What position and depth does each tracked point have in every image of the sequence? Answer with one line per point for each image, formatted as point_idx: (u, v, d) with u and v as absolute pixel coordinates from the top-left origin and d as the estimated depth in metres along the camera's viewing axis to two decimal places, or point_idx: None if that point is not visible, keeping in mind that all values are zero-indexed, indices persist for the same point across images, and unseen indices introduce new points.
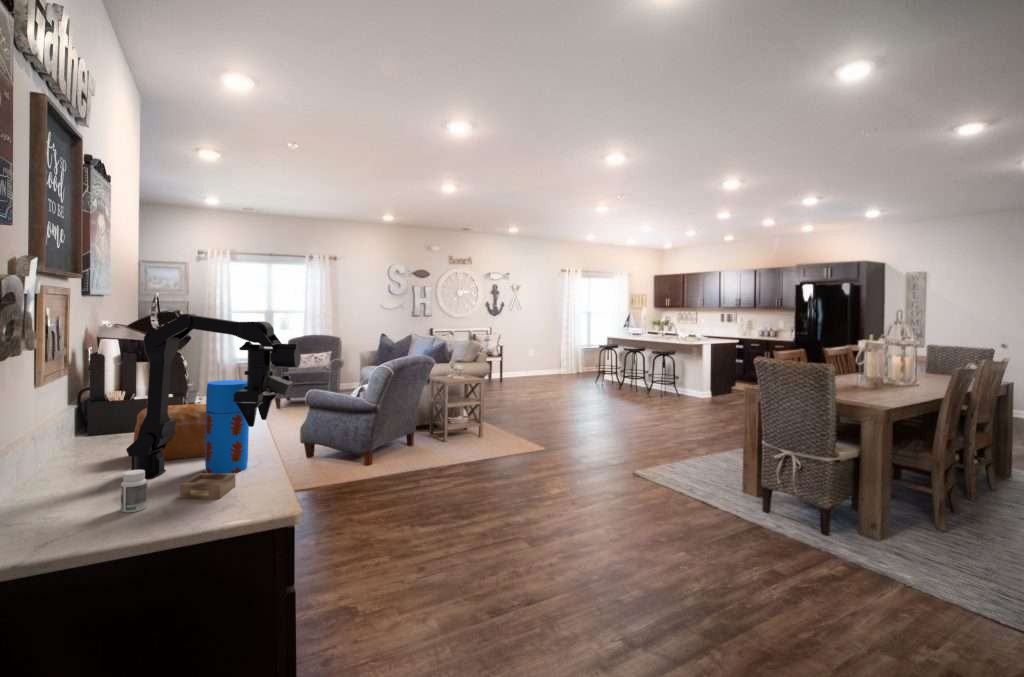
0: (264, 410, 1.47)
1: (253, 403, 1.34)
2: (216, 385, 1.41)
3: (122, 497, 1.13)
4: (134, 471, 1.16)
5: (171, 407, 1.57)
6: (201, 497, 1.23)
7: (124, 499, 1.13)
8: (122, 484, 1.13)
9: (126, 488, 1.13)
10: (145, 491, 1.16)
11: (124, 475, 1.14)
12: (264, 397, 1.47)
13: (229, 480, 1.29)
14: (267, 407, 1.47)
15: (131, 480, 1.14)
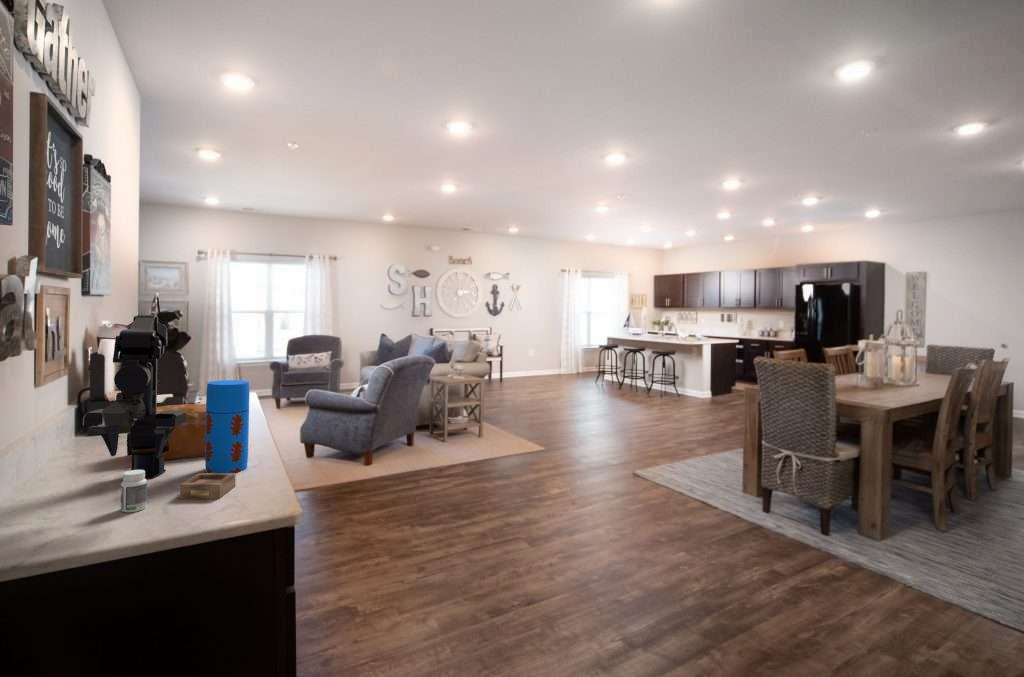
0: None
1: None
2: (216, 385, 1.41)
3: (122, 497, 1.13)
4: (134, 471, 1.16)
5: (169, 407, 1.57)
6: (201, 497, 1.23)
7: (124, 499, 1.13)
8: (122, 484, 1.13)
9: (126, 488, 1.13)
10: (145, 491, 1.16)
11: (124, 475, 1.14)
12: None
13: (229, 480, 1.29)
14: None
15: (131, 480, 1.14)
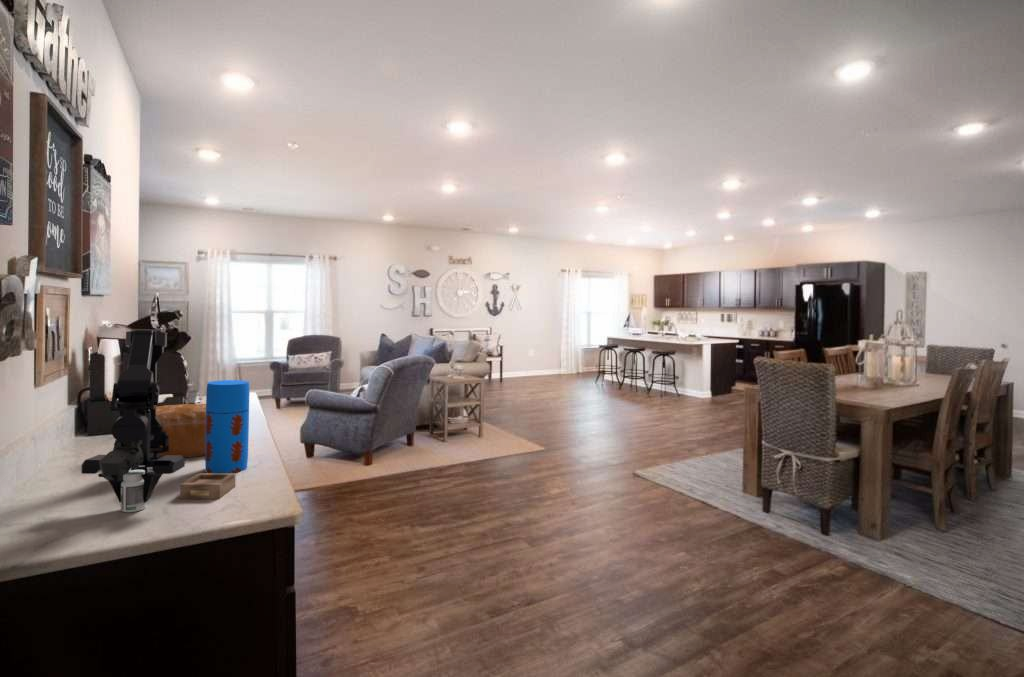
0: None
1: None
2: (216, 385, 1.41)
3: (122, 497, 1.13)
4: (134, 471, 1.16)
5: (167, 407, 1.56)
6: (201, 497, 1.23)
7: (124, 499, 1.13)
8: (122, 484, 1.13)
9: (126, 488, 1.13)
10: None
11: (124, 475, 1.14)
12: None
13: (229, 480, 1.29)
14: None
15: (131, 480, 1.14)
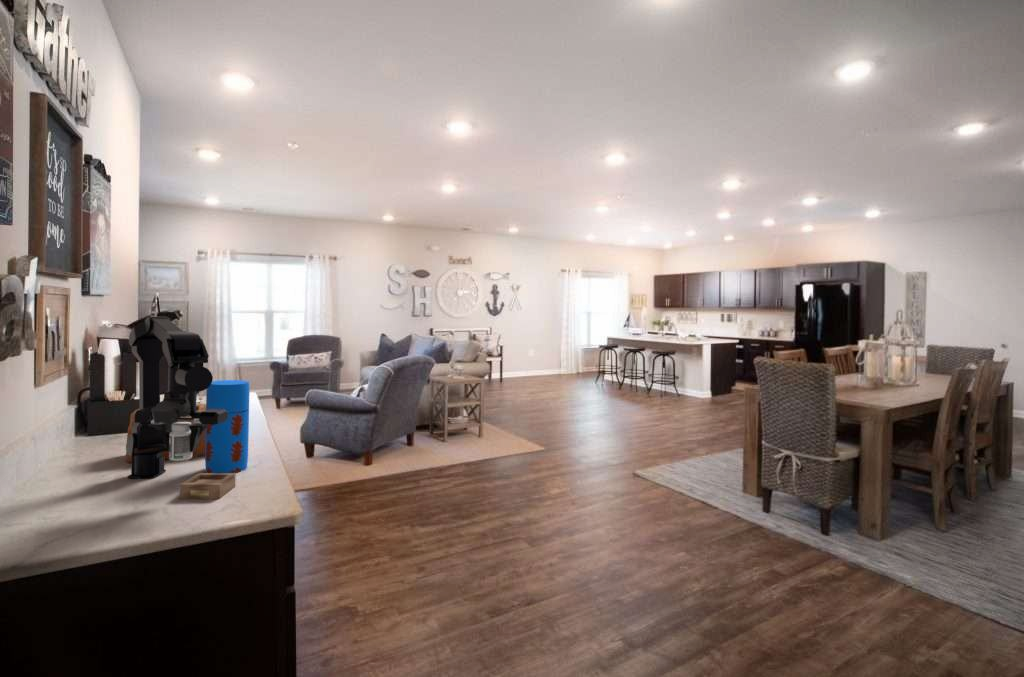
0: None
1: None
2: (216, 385, 1.41)
3: (170, 446, 1.20)
4: (181, 423, 1.23)
5: None
6: (201, 497, 1.23)
7: (172, 448, 1.20)
8: (171, 434, 1.20)
9: (174, 438, 1.20)
10: None
11: (172, 425, 1.21)
12: None
13: (229, 480, 1.29)
14: None
15: (179, 430, 1.20)
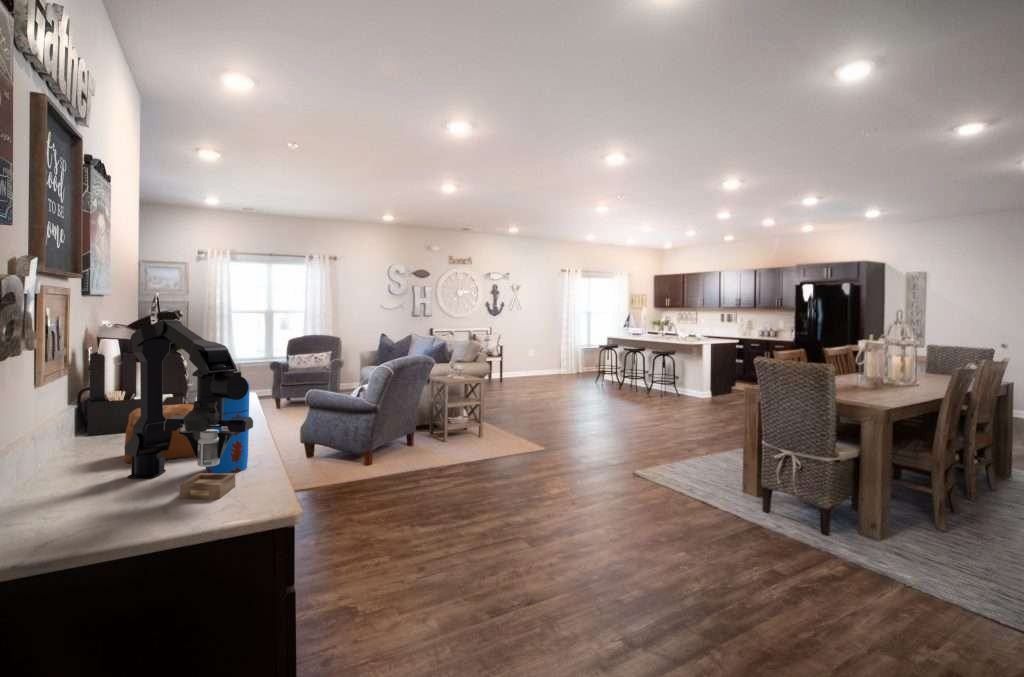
0: None
1: None
2: None
3: (199, 453, 1.25)
4: (209, 430, 1.28)
5: (163, 407, 1.56)
6: (201, 497, 1.23)
7: (201, 455, 1.25)
8: (199, 441, 1.25)
9: (203, 445, 1.25)
10: None
11: (201, 433, 1.26)
12: None
13: (229, 480, 1.29)
14: None
15: (208, 437, 1.26)
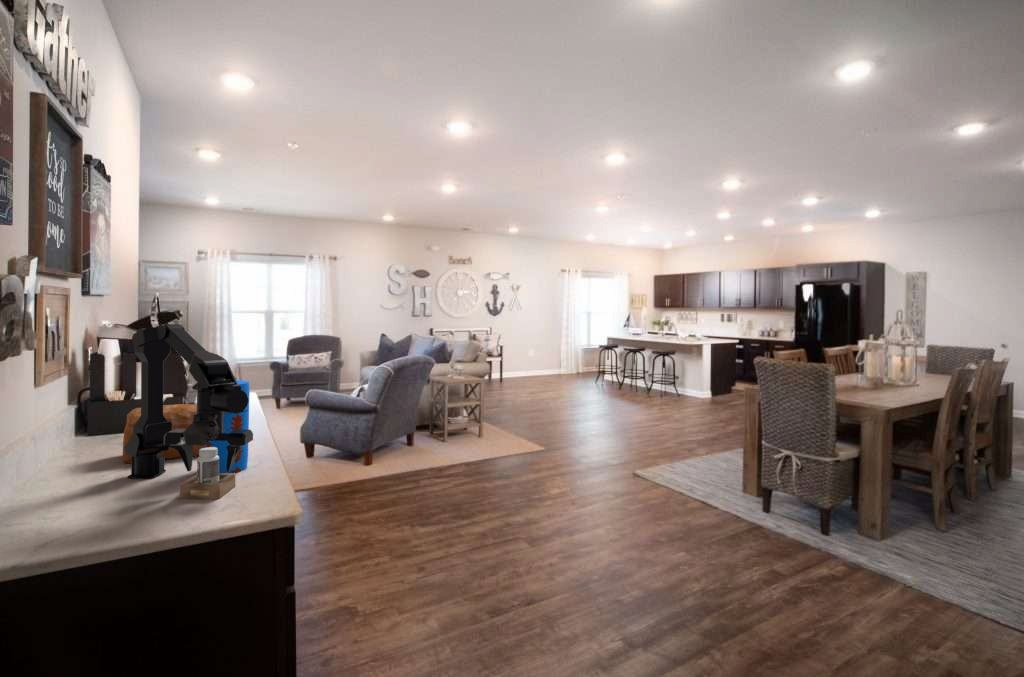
0: None
1: None
2: None
3: (199, 471, 1.25)
4: (208, 448, 1.28)
5: None
6: (201, 497, 1.23)
7: (201, 473, 1.25)
8: (198, 460, 1.25)
9: (202, 463, 1.25)
10: (218, 466, 1.28)
11: (200, 451, 1.26)
12: None
13: (229, 480, 1.29)
14: None
15: (207, 456, 1.26)
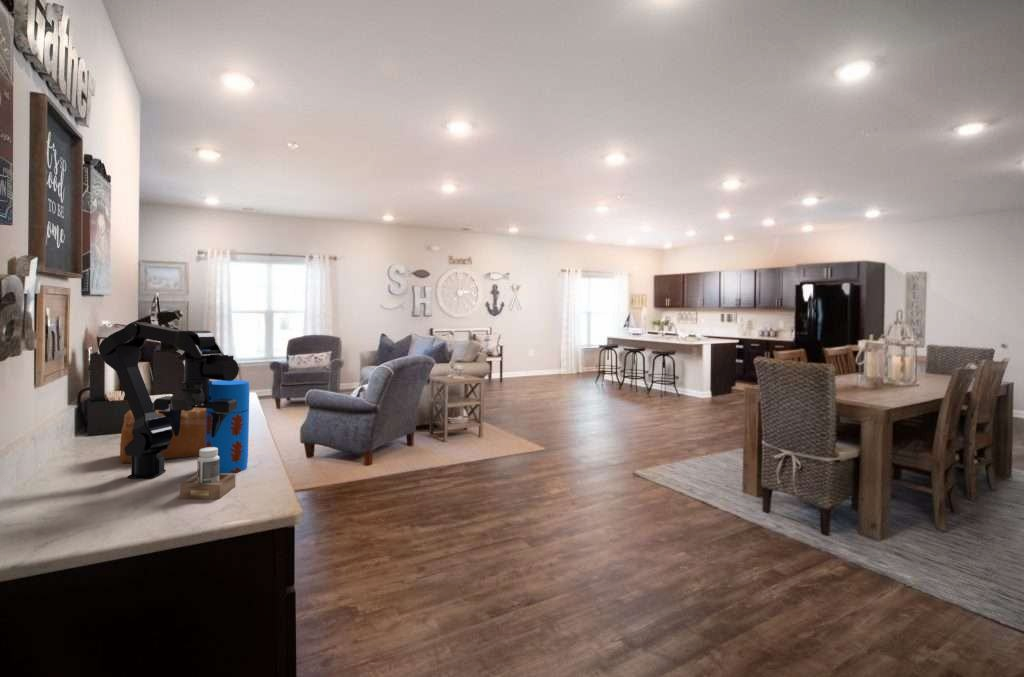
0: None
1: None
2: (216, 385, 1.41)
3: (199, 471, 1.25)
4: (208, 448, 1.28)
5: None
6: (201, 497, 1.23)
7: (201, 473, 1.25)
8: (199, 460, 1.25)
9: (203, 463, 1.25)
10: (218, 466, 1.28)
11: (200, 451, 1.26)
12: None
13: (229, 480, 1.29)
14: None
15: (207, 456, 1.26)
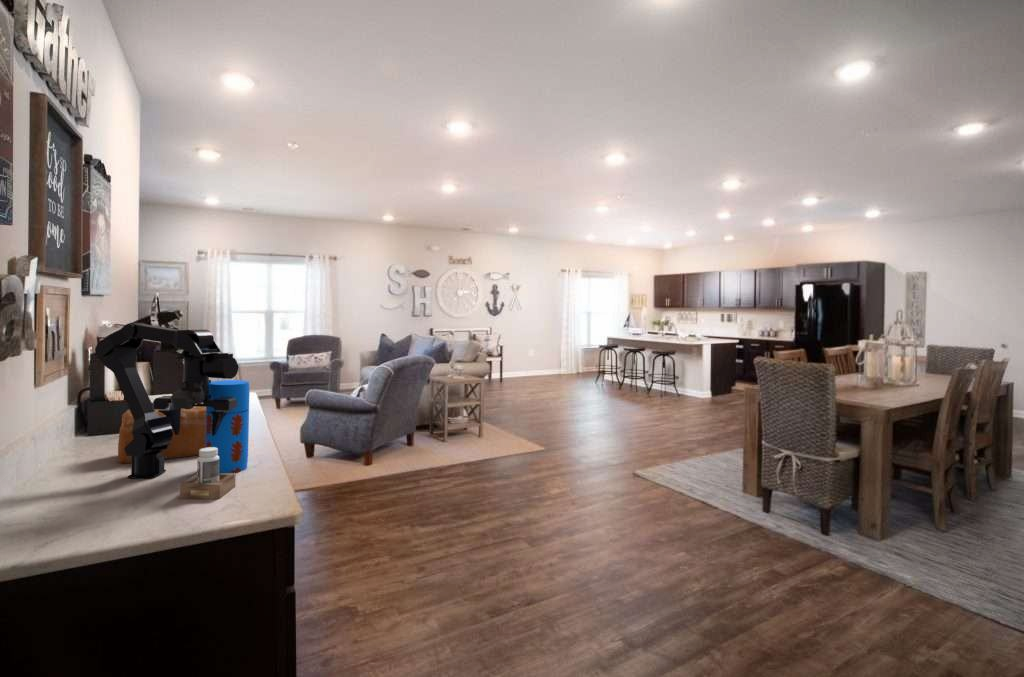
0: None
1: None
2: (216, 385, 1.41)
3: (199, 471, 1.25)
4: (208, 448, 1.28)
5: None
6: (201, 497, 1.23)
7: (201, 473, 1.25)
8: (199, 460, 1.25)
9: (203, 463, 1.25)
10: (218, 466, 1.28)
11: (200, 451, 1.26)
12: None
13: (229, 480, 1.29)
14: None
15: (207, 456, 1.26)
